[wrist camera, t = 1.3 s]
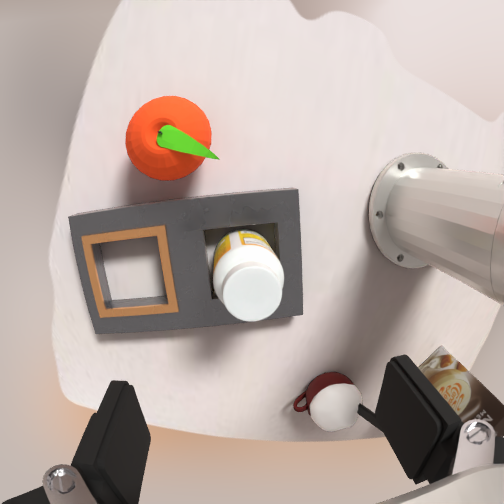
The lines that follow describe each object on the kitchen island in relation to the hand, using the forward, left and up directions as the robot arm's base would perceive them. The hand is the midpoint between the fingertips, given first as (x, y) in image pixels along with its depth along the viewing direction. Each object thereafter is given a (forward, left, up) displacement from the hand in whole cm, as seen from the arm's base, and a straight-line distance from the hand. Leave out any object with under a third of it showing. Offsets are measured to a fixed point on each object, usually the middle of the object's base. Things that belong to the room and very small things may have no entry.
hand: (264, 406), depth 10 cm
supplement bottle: (-1, 0, -21) cm, 21 cm away
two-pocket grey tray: (+4, 0, -20) cm, 21 cm away
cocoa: (-10, +18, -21) cm, 29 cm away
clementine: (+4, -11, -21) cm, 24 cm away
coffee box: (-25, +21, -21) cm, 39 cm away
